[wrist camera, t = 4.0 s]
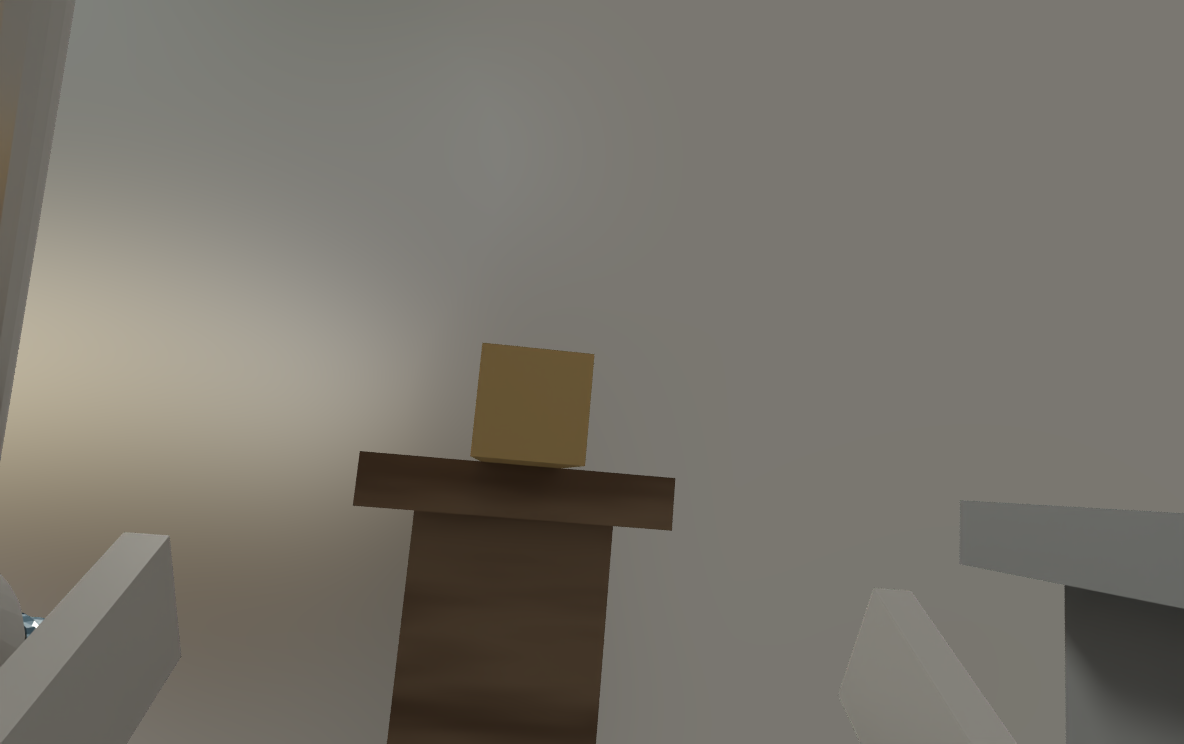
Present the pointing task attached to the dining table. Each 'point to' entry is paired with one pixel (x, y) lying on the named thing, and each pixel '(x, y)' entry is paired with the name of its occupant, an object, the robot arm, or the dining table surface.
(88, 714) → the robot arm
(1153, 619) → the grey stand
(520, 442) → the ochre bar
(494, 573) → the walnut stand
